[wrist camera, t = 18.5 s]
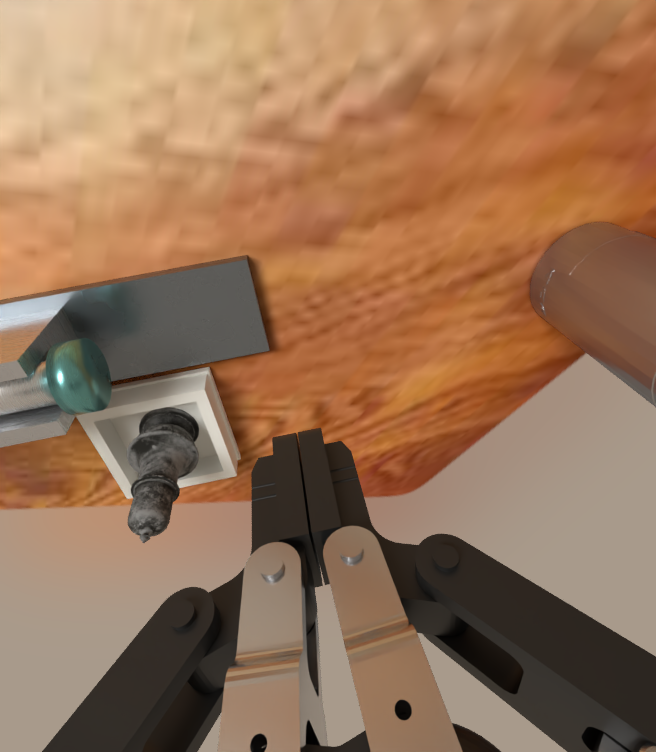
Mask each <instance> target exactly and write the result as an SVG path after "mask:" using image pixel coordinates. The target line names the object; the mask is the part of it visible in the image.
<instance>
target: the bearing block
mask: <svg viewBox="0 0 656 752" xmlns="http://www.w3.org/2000/svg"><path fill="white" fill-rule="evenodd" d="M80 338H87V339H90V340H92V341H93V342H94V343H95V344H96V345H97V346H98V347H99V349H100V350H101V352H102V353H103V355H104V357H105V359H106V362H107V364H108V367H109V371H110V376H111V381H117V380H122V379H127V378H132V377H137V376H142V375H147V374H152V373H158V372H163V371H168V370H173V369H178V368H183V367H188V366H194V365H199V364H204V363H209V362H214V361H219V360H224V359H230V358H235V357H240V356H245V355H250V354H255V353H260V352H265V351H270V350H269V342H268V338H267V334H266V330H265V326H264V322H263V318H262V314H261V310H260V306H259V302H258V298H257V294H256V290H255V286H254V282H253V278H252V274H251V270H250V266H249V262H248V258H247V255H245V256H240V257H234V258H229V259H223V260H218V261H212V262H207V263H201V264H196V265H190V266H185V267H179V268H174V269H168V270H163V271H158V272H152V273H147V274H141V275H136V276H130V277H125V278H119V279H114V280H108V281H103V282H97V283H92V284H86V285H81V286H75V287H70V288H65V289H59V290H54V291H48V292H43V293H37V294H32V295H26V296H21V297H15V298H10V299H4V300H0V382H4V381H9V380H14V379H19V378H24V377H28V376H29V375H30V373H31V372H32V371H33V369H34V368H35V367H36V365H37V364H38V363H39V362H41V361H46V358H47V354H48V351H49V350H50V348H51V347H52V346H53V345H54V344H56V343H59V342H65V341H70V340H75V339H80ZM74 418H75V416H73V415H70V414H68V413H66V412H65V411H63V410H62V409H61V408H60V407H59V405H58V404H56V405H51V406H46V407H41V408H35V409H30V410H25V411H20V412H15V413H10V414H5V415H0V447H5V446H10V445H15V444H20V443H25V442H30V441H35V440H41V439H46V438H51V437H56V436H61V435H66V433H67V431H68V429H69V428H70V426H71V424H72V422H73V420H74Z"/></svg>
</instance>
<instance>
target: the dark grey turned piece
mask: <svg viewBox="0 0 656 752" xmlns="http://www.w3.org/2000/svg"><path fill="white" fill-rule="evenodd" d="M139 433H140V434H139V435H138V436H137V437H136V438H135V439H133V441H132V442H131V443H130V444H129V447H128V449H127V460H128V462H129V464H130V466H131V467H132V468H133V469H134V470H135V471H136V472H138V473H139V477H138V479H137V480H136V481H135V482H134V483H133V484H132V486H131V494H132V496H133V502H132V505H131V509H130V513H129V516H128V526H129V528H130V529H131V531H132V532H133V533H135V534H137V535H140V539H141V541H142V542H143V543H145V542H146V541H147V540H149V539H150V537H151V536H156V535H158V534H160V533H162V532H163V531H164V530H165V529H166V528H167V526H168V524H169V520H170V515H171V509H172V504H173V502H174V501H175V500H176V499H177V498H178V496H179V493H180V489H179V486H178V485H177V482H178V479H179V478H182V477H184V476H186V475H188V474H189V473H191V472H192V471H193V470H194V469H195V468H196V465H197V463H198V460H199V453H198V450H197V447H196V446H195V443H194V442H195V441H196V440H197V438H198V435H199V427H198V423H197V422H196V420H195V419H194V418H193V417H192V416H191V415H190V414H189V413H187V412H185V411H183V410H180V409H177V408H170V407H165V408H160V409H155V410H152V411H150V412H148V413H147V414H145V416H144V417H143V418H142V419H141V422H140V424H139Z"/></svg>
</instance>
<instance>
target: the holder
mask: <svg viewBox="0 0 656 752" xmlns="http://www.w3.org/2000/svg"><path fill="white" fill-rule="evenodd" d="M165 407H170V408H177V409H180V410H183V411H185V412H187V413H189V414H190V415H191V416H192V417H193V418H194V419H195V420H196V422H197V423H198V427H199V435H198V438H197V440H196V441H195V442H194V443H195V446H196V447H197V450H198V453H199V460H198V463H197V465H196V468H195V469H194V470H193V471H192V472H191V473H189V474H188V475H186V476H184V477H182V478H179V479H178V482H177V485H178V486H179V488H182V487H187V486H192V485H196V484H201V483H206V482H211V481H216V480H220V479H225V478H230V477H235V476H237V460H240V459H241V455H240V452H239V449H238V446H237V443H236V440H235V438H234V435H233V432H232V429H231V426H230V424H229V421H228V418H227V415H226V412H225V409H224V407H223V404H222V401H221V398H220V395H219V392H218V390H217V387H216V384H215V381H214V378H213V376H212V373H211V370H210V367H205V368H200V369H195V370H190V371H185V372H179V373H174V374H169V375H164V376H159V377H154V378H149V379H144V380H138V381H133V382H128V383H123V384H118V385H113V386H112V393H111V399H110V402H109V404H108V406H107V407H106V408H105V409H104V410H102V411H97V412H92V413H87V414H82V415H77V416H76V417H77V419H78V421H79V422H80V424H81V425H82V427H83V429H84V430H85V432H86V433H87V435H88V437H89V438H90V440H91V441H92V443H93V445H94V446H95V448H96V450H97V451H98V453H99V454H100V456H101V458H102V459H103V461H104V462H105V464H106V466H107V467H108V469H109V470H110V472H111V474H112V475H113V477H114V478H115V480H116V482H117V483H118V485H119V486H120V488H121V490H122V491H123V493H124V495H125V496H126V498H127V499H129V498H133V496H132V494H131V486H132V484H133V483H134V482H135V481H136V480H137V479H138V477H139V473H138V472H136V471H135V470H134V469H133V468H132V467H131V466H130V464H129V462H128V460H127V449H128V447H129V444H130V443H131V442H132V441H133V439H135V438H136V437H137V436H138V435H139V434H140V433H139V424H140V422H141V419H142V418H143V417H144V416H145V414H147V413H148V412H150V411H152V410H155V409H160V408H165Z"/></svg>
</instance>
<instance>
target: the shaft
mask: <svg viewBox="0 0 656 752" xmlns="http://www.w3.org/2000/svg"><path fill="white" fill-rule="evenodd" d="M111 393H112V383H111V376H110V371H109V367H108V364H107V362H106V359H105V357H104V355H103V353H102V352H101V350H100V349H99V347H98V346H97V345H96V344H95V343H94V342H93V341H92V340H90V339H87V338H80V339H75V340H70V341H65V342H59V343H56V344H54V345H53V346H52V347H51V348H50V350H49V351H48V354H47V358H46V361H41V362H39V363H38V364H37V365H36V367H35V368H34V369H33V371H32V372H31V373H30V375H29V376H28V377H24V378H19V379H14V380H9V381H4V382H0V415H5V414H10V413H15V412H20V411H25V410H30V409H35V408H41V407H46V406H51V405H56V404H58V405H59V407H60V408H61V409H62V410H63V411H65V412H66V413H68V414H70V415H73V416H77V415H82V414H87V413H92V412H97V411H102V410H104V409H105V408H106V407H107V406H108V404H109V402H110V399H111Z"/></svg>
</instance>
